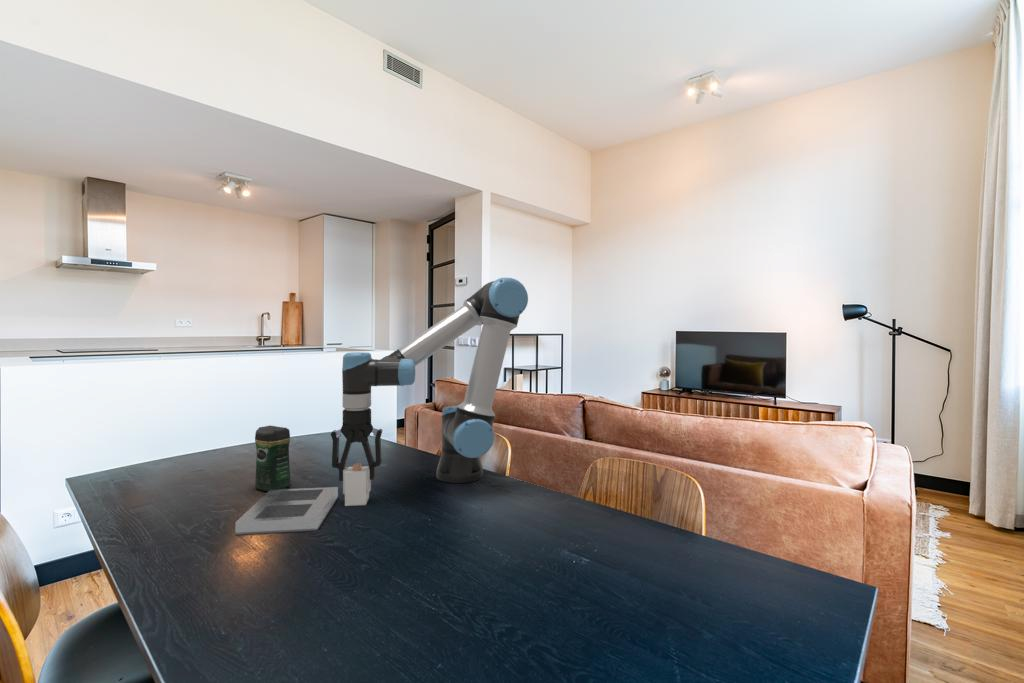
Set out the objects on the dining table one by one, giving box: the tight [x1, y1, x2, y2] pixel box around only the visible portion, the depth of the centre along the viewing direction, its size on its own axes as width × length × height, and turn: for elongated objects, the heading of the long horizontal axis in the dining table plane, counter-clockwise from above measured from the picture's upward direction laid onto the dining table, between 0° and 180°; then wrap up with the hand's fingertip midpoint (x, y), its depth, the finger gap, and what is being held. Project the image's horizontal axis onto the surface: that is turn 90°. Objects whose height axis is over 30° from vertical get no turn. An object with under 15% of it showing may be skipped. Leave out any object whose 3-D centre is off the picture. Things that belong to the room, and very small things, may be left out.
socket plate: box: [235, 486, 339, 536], centre depth 120 cm, size 18×22×3 cm
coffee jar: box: [254, 425, 291, 492], centre depth 140 cm, size 10×8×19 cm
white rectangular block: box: [344, 462, 370, 507], centre depth 129 cm, size 6×6×10 cm
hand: (357, 491), depth 129 cm, fingers closed on white rectangular block, 5 cm apart
